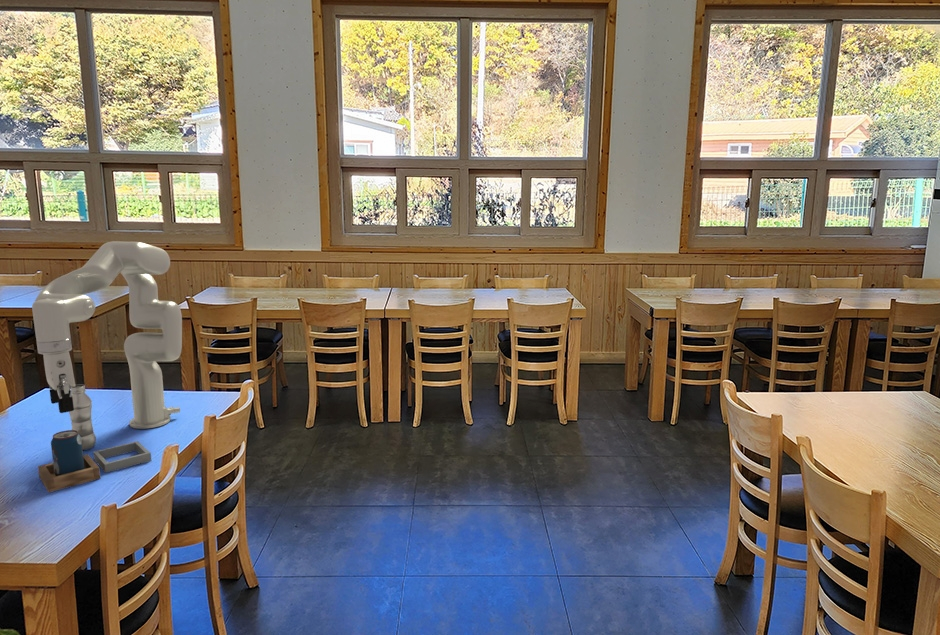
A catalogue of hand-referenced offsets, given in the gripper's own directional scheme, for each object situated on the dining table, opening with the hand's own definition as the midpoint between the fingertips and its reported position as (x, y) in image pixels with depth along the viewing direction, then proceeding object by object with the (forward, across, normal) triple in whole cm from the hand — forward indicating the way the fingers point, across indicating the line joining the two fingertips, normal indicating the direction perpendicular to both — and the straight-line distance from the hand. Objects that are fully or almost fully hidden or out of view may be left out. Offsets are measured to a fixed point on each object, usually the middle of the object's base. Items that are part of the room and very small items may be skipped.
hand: (62, 406), depth 164 cm
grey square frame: (+21, +2, -14) cm, 25 cm away
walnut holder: (+20, 0, 0) cm, 21 cm away
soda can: (+20, 0, 0) cm, 20 cm away
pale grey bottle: (+21, +20, -8) cm, 30 cm away
